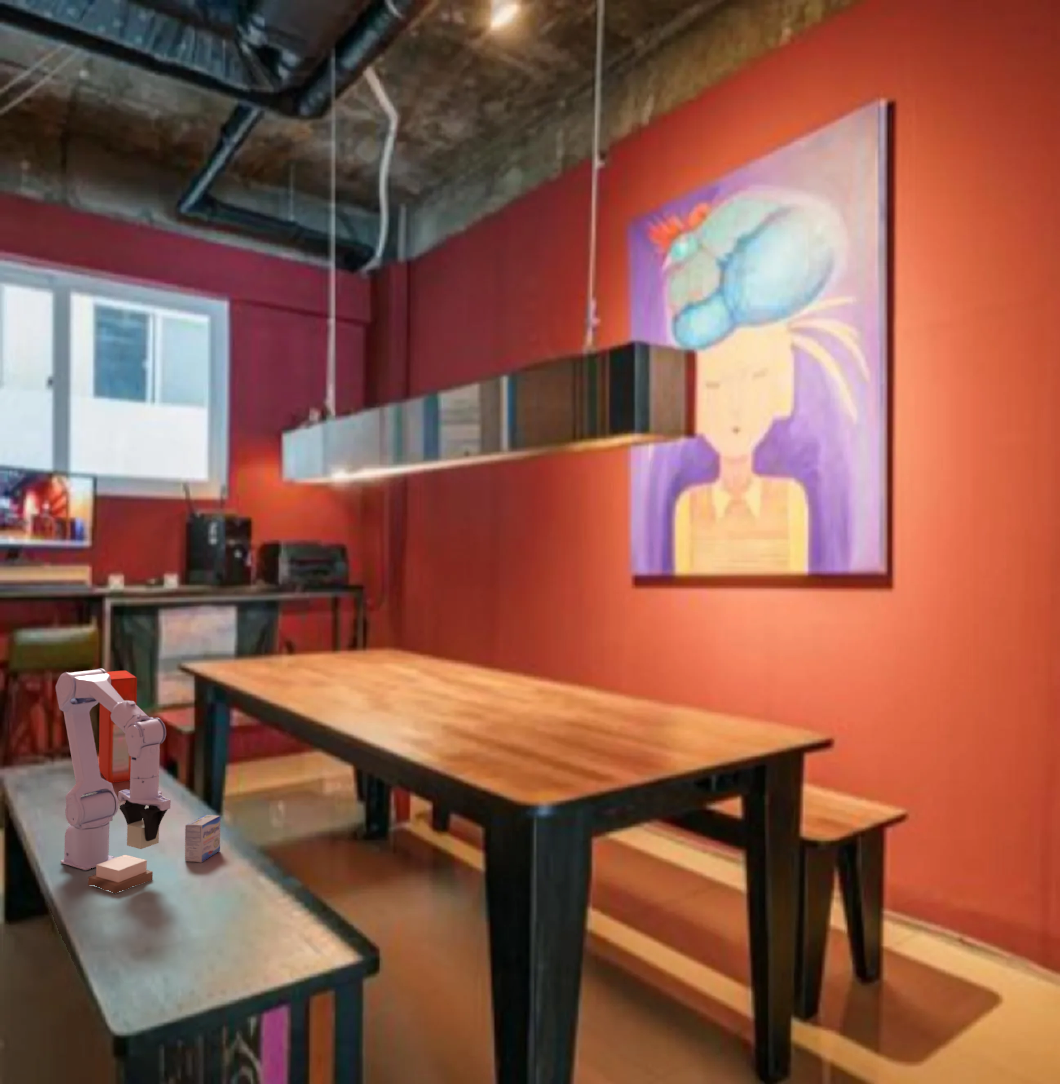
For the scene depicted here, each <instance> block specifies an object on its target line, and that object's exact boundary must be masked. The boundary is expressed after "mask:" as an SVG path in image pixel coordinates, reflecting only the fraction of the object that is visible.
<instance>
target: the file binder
mask: <svg viewBox="0 0 1060 1084" xmlns="http://www.w3.org/2000/svg"><path fill="white" fill-rule="evenodd" d="M106 672H107V673H108V674H109V675H110V677H111V685H112V687H113V688H114V689H115V690H116V691H117V693H118V694H119V695H120V696H121V697H122V699H123V700H124V701H134V702H135V703H136V704H138V703H137V698H138V697H137V696H138V695H137V692H138V691H137V689H138V686H137V685H138V678H137V676H135V675H134V674H132V673H131V672H129V671H127V670H115V671H106ZM98 733H99V734H98V735H99V737H98V739H99V740H98V743H99V745H98V746H99V747H98V750H99V751H98V764H99V769H100V775H102V776H103V779H104V780H106V781H108V782H110V783H112V784H113V783H114V784H115V783H120V782H130V772H131V756H129V753H128V745H127V743H126V739H125V733H124V732H123V731H122V730H121V729H120V728H119V727H118V726H117V725H116V724H115V723H114V722H113V721H112V720H111V712H110V711H109V710H108V709H107V708H105V707H104V706H103V705H102V704H100V703H99V732H98Z"/></svg>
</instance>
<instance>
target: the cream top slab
mask: <svg viewBox="0 0 1060 1084" xmlns="http://www.w3.org/2000/svg"><path fill="white" fill-rule="evenodd" d="M116 857H117V858H114V859H111V860H109V861H106V862H103V863H100V864H97V865H96V867H95V869H96V872H95V874H96V877H100V878H104V879H107V880H111V881H114V882H121V881H124V880H126V879H129V878H131V877H134V876H136V875H139V874H142V873H144V872H146V870H148V869H147V864H148V863H147V862H148V860H147V859H143V858H140V857H135V856H132V855H128V854H123V855H120V856H116Z"/></svg>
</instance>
